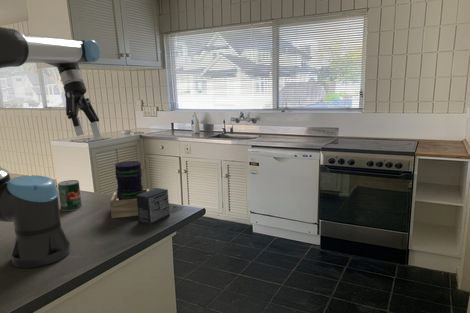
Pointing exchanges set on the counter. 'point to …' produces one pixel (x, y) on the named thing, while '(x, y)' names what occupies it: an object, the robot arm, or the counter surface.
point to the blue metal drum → (128, 179)
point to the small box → (153, 205)
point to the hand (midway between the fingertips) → (89, 136)
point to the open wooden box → (123, 206)
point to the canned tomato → (69, 195)
